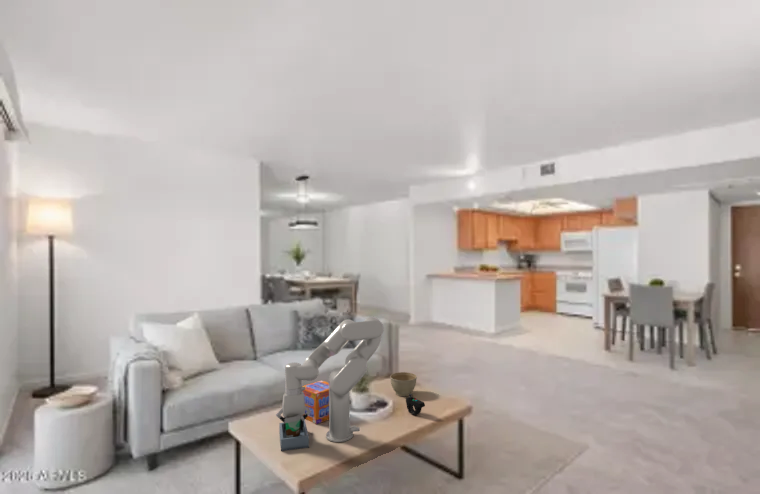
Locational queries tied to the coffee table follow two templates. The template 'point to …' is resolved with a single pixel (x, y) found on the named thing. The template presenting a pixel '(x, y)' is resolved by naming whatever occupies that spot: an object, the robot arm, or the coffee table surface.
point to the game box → (317, 401)
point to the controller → (416, 403)
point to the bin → (293, 439)
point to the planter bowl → (403, 383)
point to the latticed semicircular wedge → (293, 426)
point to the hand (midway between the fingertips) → (293, 429)
